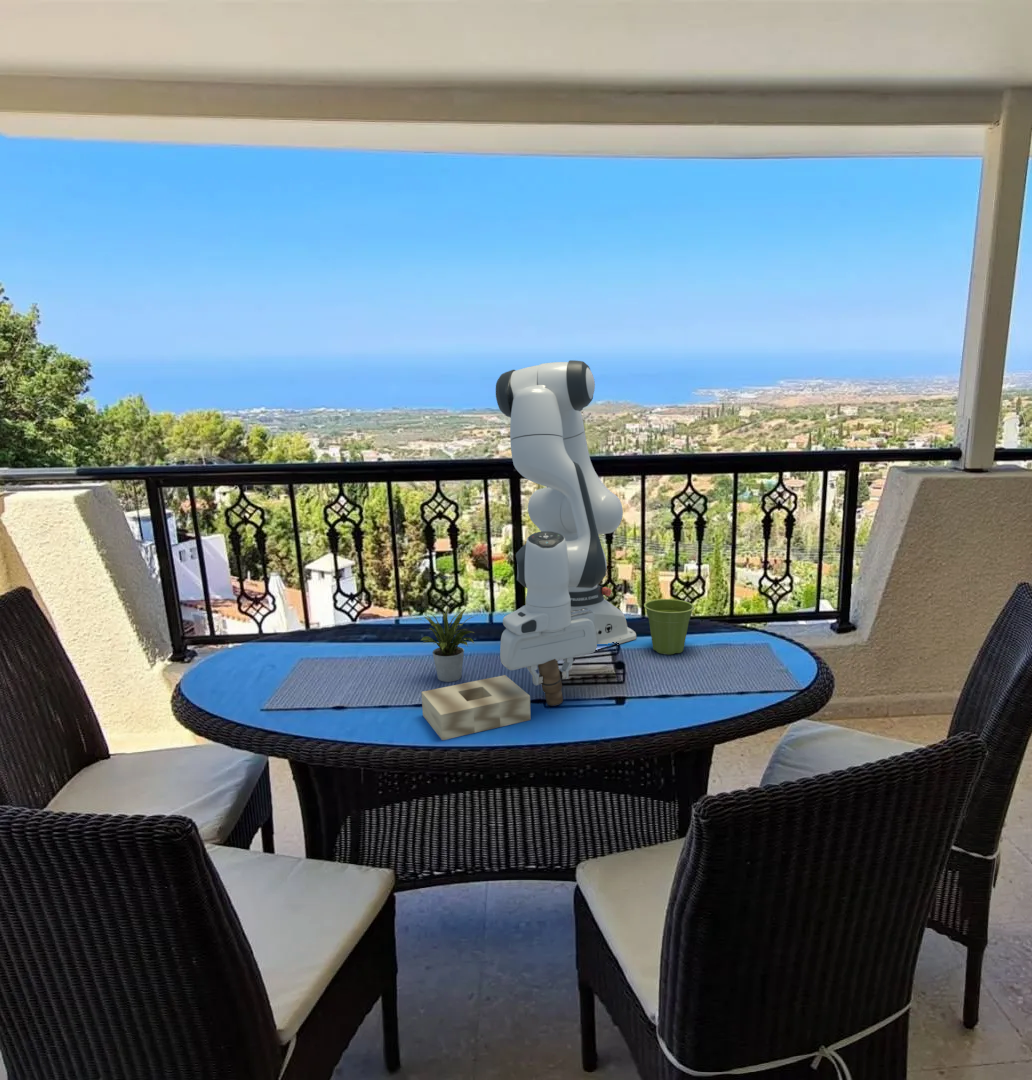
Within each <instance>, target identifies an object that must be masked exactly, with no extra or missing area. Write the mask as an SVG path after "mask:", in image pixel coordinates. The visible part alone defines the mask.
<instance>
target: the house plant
mask: <svg viewBox="0 0 1032 1080" xmlns="http://www.w3.org/2000/svg"><path fill="white" fill-rule="evenodd" d="M448 610H449V607H447V608H446V610H445V612H444V611H442V616H443V617H442V618H443V625H444V627H443V626H441V624H440V623H439V621H438V618H437V617H436V616H435V615H434V614H432V613H429V612H428V614H430V615H432V617H433V618H434V619H435V621H436V623H435V621H433V620H432V618H431V616H428V615H426V614H424V615H425V616H424V618H425V620H427V621H428V622H429V625H431V626H432V627H433V628H432V627H429V628H427V629H429V630H430V631H432V633H433V635H435V637H436V638H435V639H436V640H437V641H436V640H435V639H433V638H432V637H430V636H426V635H425V636H423V637H422V638H421V639H420V641H423V642H422V644H423V643H433V645H434V644H436V645H437V646H438V647H437V648H435V649H434V650H432V652H431V653H432V656H433V661H434V666H435V670H436V675H437V680H439V681H440V682H446V683H450V682H456V681H458V680H460V679H462V672H463V665H464V655H465V649H464V648H463V647H461V646H459V645H461V644H462V645H465V646H466V647H469V646H468V641H469V642H472V644H475V642H474V640H473V639H472V638H471V637H467V636H466V635H469V634H471V633H472V634H476V632H474V631H471V630H469V628H462V629H460V628H461V627H462V626H463V624H464V623H466V622H467V621H468V620H471V619H472V618H474V616H472V617H469V618H467V619H466V620H464V622H463V623H460V622H461V621H462V618H463V614H464V613H465V612H466V610H467V608H464V609H463V610H461V611H459V612H458V613H456V614H455V615H454V616H453V618H452V619H451V621H450V623H449V620H448ZM415 619H416V620H420V621H423V622H424V623H426V621H425V620H423V619H421V618H419V617H415ZM458 626H459V627H458ZM464 636H465V637H464Z"/></svg>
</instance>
